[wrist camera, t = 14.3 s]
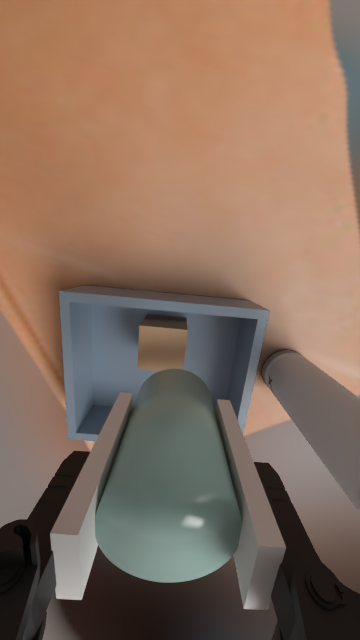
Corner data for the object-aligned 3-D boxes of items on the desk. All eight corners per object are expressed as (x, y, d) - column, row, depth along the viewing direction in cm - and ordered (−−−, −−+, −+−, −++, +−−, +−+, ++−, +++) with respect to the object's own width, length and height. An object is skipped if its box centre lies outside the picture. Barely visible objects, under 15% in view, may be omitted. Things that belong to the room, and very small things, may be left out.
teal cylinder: (126, 381, 13) (69, 494, 6) (198, 359, 13) (219, 453, 6) (152, 442, 14) (126, 594, 8) (220, 423, 14) (257, 564, 7)
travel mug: (251, 378, 29) (390, 600, 10) (279, 341, 28) (509, 518, 8) (285, 397, 30) (475, 637, 11) (315, 362, 28) (598, 568, 9)
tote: (86, 285, 26) (58, 290, 20) (249, 300, 26) (269, 310, 20) (89, 405, 30) (67, 439, 25) (228, 417, 31) (239, 452, 25)
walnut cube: (147, 314, 26) (139, 325, 21) (186, 317, 26) (187, 329, 21) (144, 350, 27) (137, 369, 22) (182, 353, 27) (183, 373, 22)
